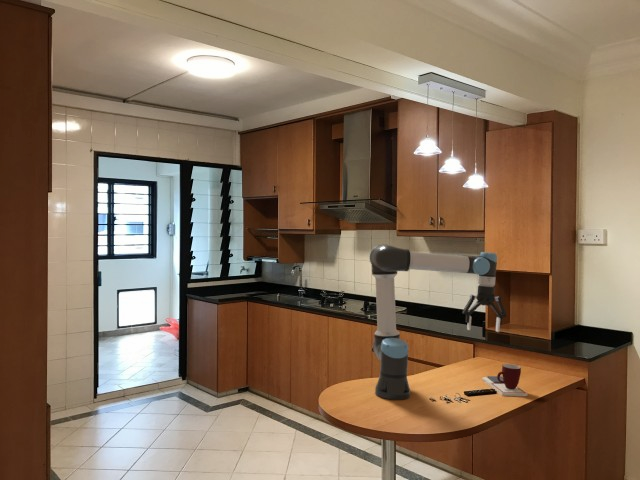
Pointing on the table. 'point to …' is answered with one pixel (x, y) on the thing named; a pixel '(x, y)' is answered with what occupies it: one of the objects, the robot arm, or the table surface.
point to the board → (503, 387)
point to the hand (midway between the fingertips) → (483, 330)
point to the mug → (510, 375)
